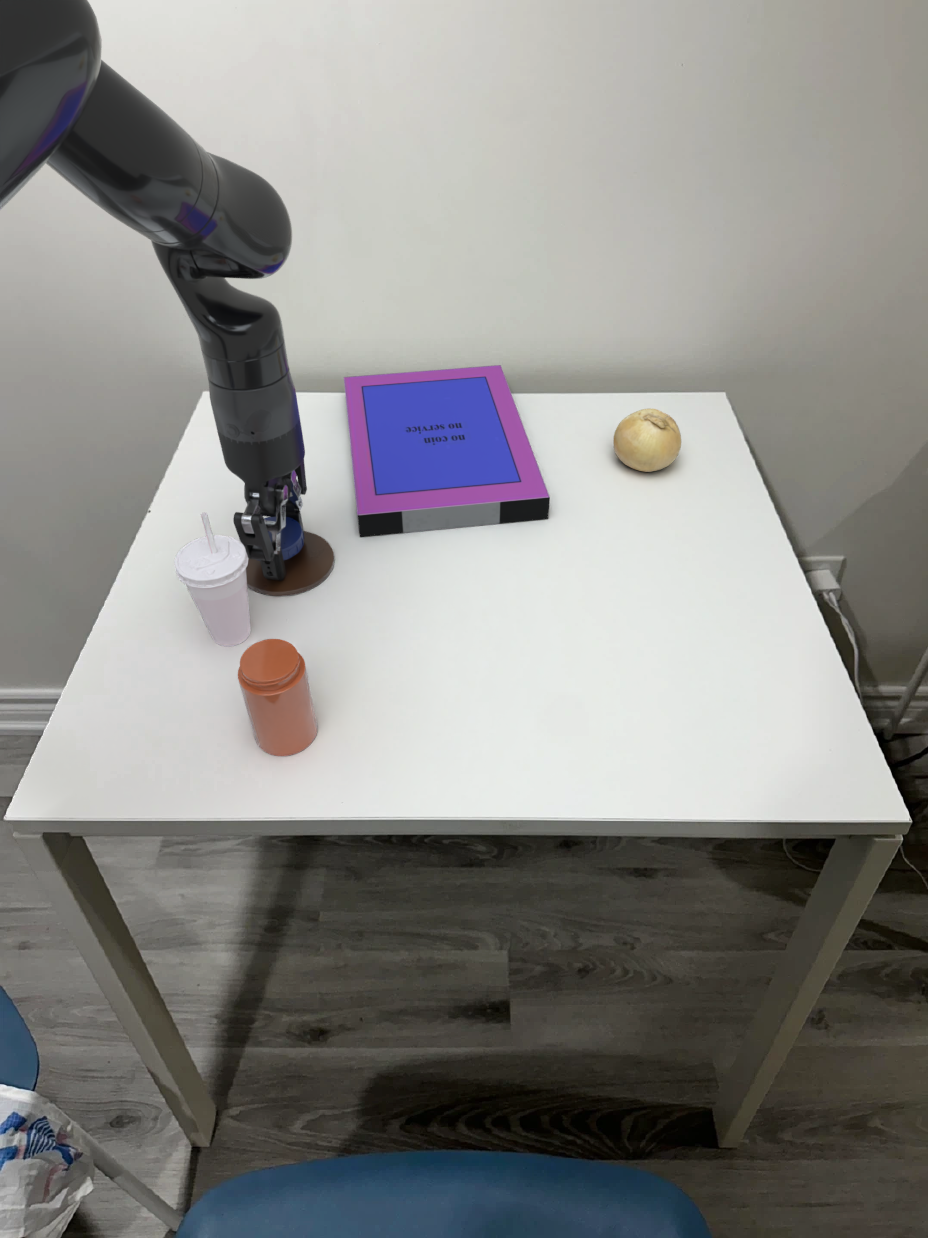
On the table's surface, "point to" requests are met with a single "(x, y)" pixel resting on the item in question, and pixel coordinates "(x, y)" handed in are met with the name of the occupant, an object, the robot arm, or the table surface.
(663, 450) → the onion
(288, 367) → the robot arm
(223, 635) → the smoothie
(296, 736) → the jar
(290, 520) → the jar lid
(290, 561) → the coaster
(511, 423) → the book
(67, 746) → the table surface
